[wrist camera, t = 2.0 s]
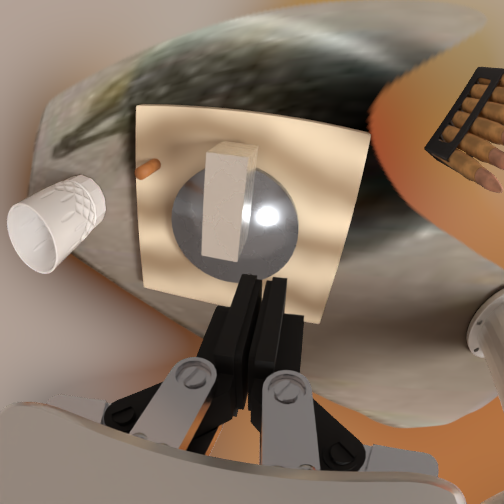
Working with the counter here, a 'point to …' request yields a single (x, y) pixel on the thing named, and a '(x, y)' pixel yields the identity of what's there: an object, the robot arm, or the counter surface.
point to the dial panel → (268, 159)
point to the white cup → (55, 221)
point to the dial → (235, 216)
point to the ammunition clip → (474, 129)
